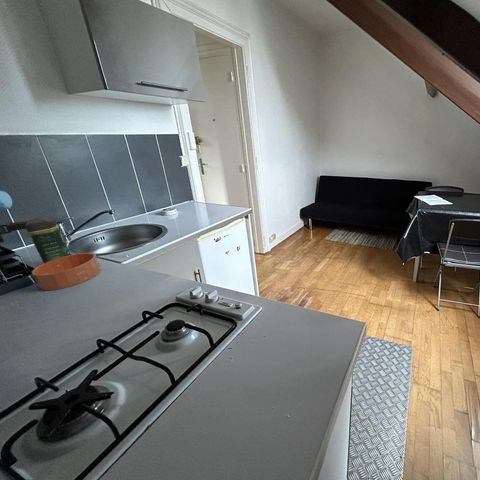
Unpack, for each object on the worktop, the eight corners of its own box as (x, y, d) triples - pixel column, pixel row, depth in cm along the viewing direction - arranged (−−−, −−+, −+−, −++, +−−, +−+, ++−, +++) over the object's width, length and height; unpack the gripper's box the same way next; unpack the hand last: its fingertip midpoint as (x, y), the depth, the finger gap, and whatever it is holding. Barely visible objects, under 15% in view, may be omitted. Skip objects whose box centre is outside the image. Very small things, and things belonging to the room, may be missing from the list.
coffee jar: (74, 264, 99) (51, 218, 92) (45, 272, 94) (19, 223, 87) (74, 256, 106) (54, 213, 99) (48, 263, 101) (24, 218, 94)
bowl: (31, 296, 80) (22, 280, 77) (49, 274, 93) (42, 260, 90) (96, 279, 87) (90, 265, 85) (104, 261, 100) (99, 248, 97)
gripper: (21, 229, 112) (63, 228, 109) (-64, 254, 90) (-15, 255, 87) (12, 212, 109) (55, 211, 106) (-78, 234, 87) (-28, 234, 84)
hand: (24, 231), depth 96 cm, fingers open, 13 cm apart
